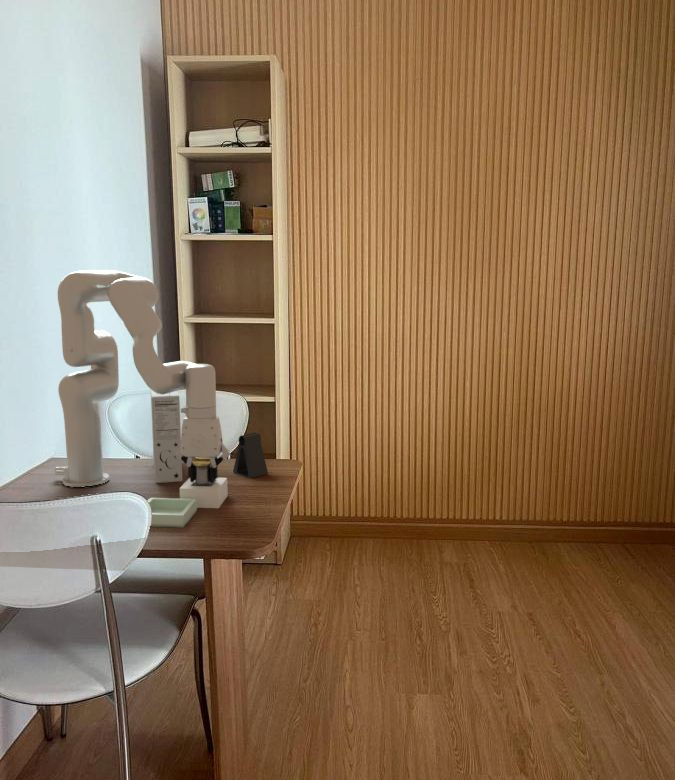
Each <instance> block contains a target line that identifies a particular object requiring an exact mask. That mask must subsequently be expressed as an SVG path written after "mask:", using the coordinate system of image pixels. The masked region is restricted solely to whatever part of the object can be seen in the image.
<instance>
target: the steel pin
mask: <svg viewBox="0 0 675 780" xmlns="http://www.w3.org/2000/svg"><path fill="white" fill-rule="evenodd" d="M192 465H195V484H196V486H211V482H210V468H211V460H210V458H205V457H193V459H192Z"/></svg>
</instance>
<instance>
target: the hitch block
mask: <svg viewBox="0 0 675 780" xmlns="http://www.w3.org/2000/svg"><path fill="white" fill-rule="evenodd" d="M228 492H229V491H228V478H227V477H217V479H216V480H215V481H214V482H213V483H211V486H196V484H195V480H194V482H190V478H189V477H188V479H187V480H186V481H185V482H184V483H183V484H182V485H181V486H180V487H179V499H197V509H198V508H200V509H201V508H202V509H219V508H220V507H221V506H222V504H224V502H225V500H226V499H227V498H228V496H229V495H228Z"/></svg>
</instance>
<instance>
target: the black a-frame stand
mask: <svg viewBox="0 0 675 780" xmlns="http://www.w3.org/2000/svg"><path fill="white" fill-rule="evenodd" d="M261 440H262V436H261V434H260V433H259V432H252V433H247V434H243V435H239V437H238V448H237V452H236V456H235V460H234V467H233V470H232V473H233V474H236V475H239V476H242V477H245V478H249V479H256V478H259V477H262V476H267V475H269V472H268V467H267V463H266V459H265V456H264V455H265V454H264V451H263V447H262V442H261Z"/></svg>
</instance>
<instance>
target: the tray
mask: <svg viewBox="0 0 675 780" xmlns="http://www.w3.org/2000/svg"><path fill="white" fill-rule="evenodd" d="M146 501H148V502H149V504H150V506H151V509H152V525H151V527H155V528H157V527H159V528H185V527H186V526H187V523H189V522H190V521H191V519H192V518H193V517H194V515H195V514H196V513H197V511H198V508H197V499H180V498H179V497H177V498H172V497H171V498H170V497H169V498H168V497H150V498H149V499H148V500H146ZM151 527H150V528H151Z"/></svg>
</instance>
